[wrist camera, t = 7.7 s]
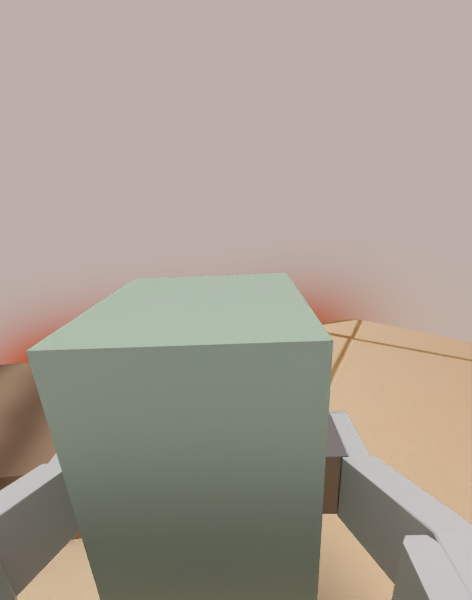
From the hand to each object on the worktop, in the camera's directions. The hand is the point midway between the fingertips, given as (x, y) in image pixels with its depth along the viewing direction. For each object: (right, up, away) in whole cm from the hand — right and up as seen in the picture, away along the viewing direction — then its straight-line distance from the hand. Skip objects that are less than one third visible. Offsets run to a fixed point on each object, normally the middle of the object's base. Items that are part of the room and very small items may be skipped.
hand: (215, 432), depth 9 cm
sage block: (0, -6, +1) cm, 6 cm away
